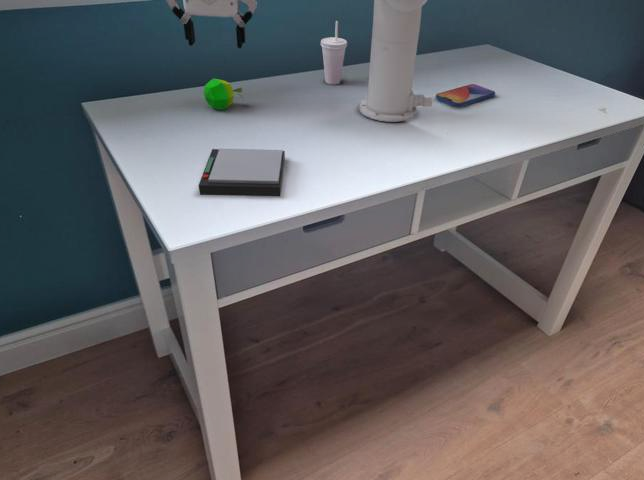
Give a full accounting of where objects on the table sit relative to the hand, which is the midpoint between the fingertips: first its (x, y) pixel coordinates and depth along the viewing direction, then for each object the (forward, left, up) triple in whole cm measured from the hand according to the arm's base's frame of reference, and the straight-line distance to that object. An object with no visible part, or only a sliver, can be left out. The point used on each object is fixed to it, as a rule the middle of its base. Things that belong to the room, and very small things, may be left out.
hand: (216, 45), depth 102 cm
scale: (-8, +31, -13) cm, 35 cm away
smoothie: (-24, -18, -13) cm, 33 cm away
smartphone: (-56, -10, -13) cm, 59 cm away
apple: (0, 0, -13) cm, 13 cm away
